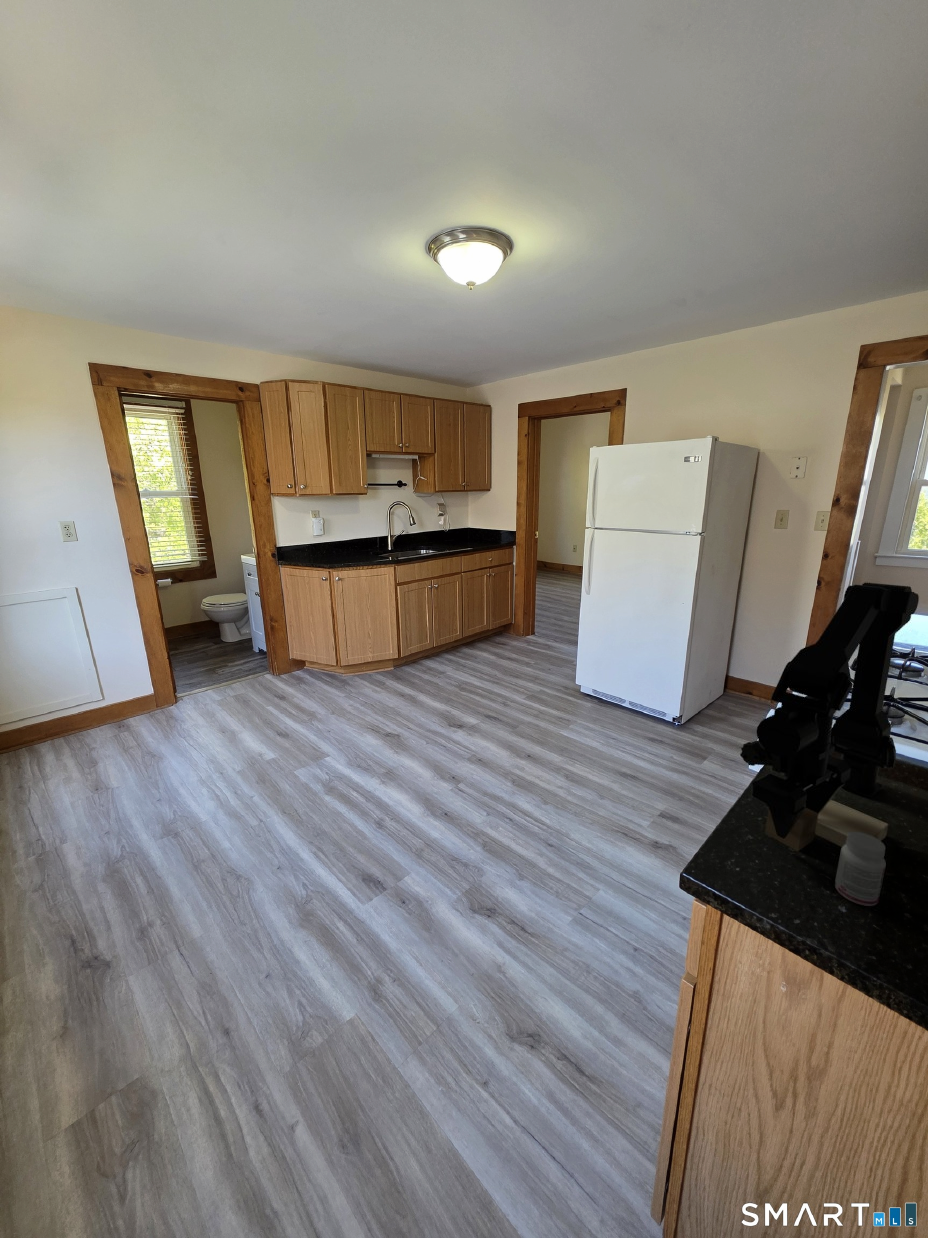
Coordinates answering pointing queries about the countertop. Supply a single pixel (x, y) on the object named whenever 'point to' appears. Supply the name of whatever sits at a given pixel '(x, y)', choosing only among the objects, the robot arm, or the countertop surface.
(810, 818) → the walnut cube
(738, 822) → the countertop surface
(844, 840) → the maple block
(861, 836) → the pill bottle
